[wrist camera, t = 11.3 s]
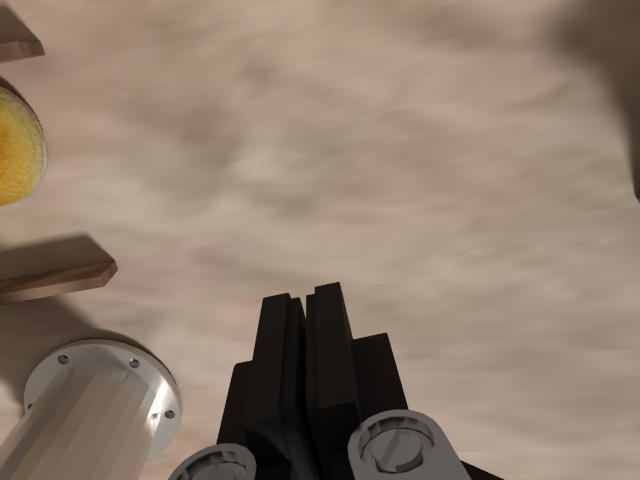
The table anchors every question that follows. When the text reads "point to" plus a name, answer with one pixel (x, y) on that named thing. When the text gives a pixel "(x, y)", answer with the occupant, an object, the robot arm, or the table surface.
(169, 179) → the table surface
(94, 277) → the walnut open-ended frame
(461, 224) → the table surface
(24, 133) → the bread roll
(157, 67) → the table surface
